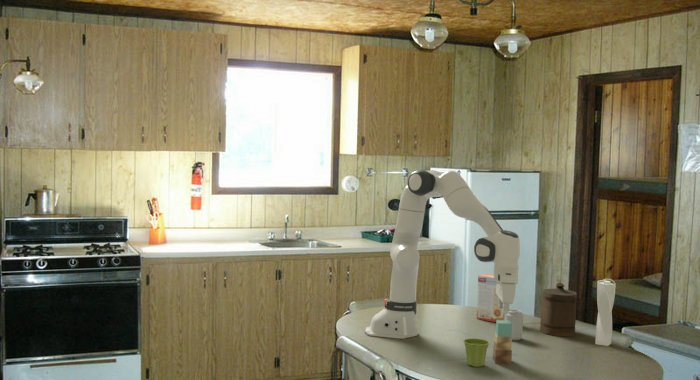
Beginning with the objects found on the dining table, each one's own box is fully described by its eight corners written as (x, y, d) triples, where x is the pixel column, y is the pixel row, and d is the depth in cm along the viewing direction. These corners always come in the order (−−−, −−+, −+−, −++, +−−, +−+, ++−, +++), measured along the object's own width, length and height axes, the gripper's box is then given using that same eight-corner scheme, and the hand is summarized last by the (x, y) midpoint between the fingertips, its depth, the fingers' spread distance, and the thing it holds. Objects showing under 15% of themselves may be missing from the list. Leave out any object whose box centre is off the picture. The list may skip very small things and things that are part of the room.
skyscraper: (610, 347, 301) (613, 279, 299) (591, 344, 305) (595, 277, 303) (614, 343, 308) (618, 277, 306) (596, 340, 312) (600, 275, 310)
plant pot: (459, 360, 274) (460, 337, 274) (484, 361, 275) (485, 338, 275) (465, 368, 265) (467, 344, 264) (491, 368, 266) (492, 345, 265)
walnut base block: (495, 363, 273) (495, 350, 272) (492, 358, 279) (493, 345, 278) (511, 364, 272) (511, 350, 272) (508, 359, 278) (509, 346, 278)
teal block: (497, 336, 273) (498, 323, 272) (495, 333, 278) (496, 320, 277) (511, 337, 272) (511, 323, 272) (508, 333, 277) (509, 320, 277)
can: (522, 341, 306) (523, 313, 305) (503, 340, 307) (505, 311, 306) (521, 337, 313) (523, 309, 312) (503, 335, 314) (505, 308, 314)
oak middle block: (496, 349, 273) (496, 336, 272) (494, 346, 278) (494, 333, 278) (511, 350, 272) (511, 337, 272) (508, 346, 278) (509, 333, 278)
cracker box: (509, 322, 340) (511, 277, 339) (502, 324, 335) (504, 279, 334) (482, 317, 349) (484, 273, 348) (475, 318, 344) (477, 274, 343)
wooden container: (580, 332, 324) (583, 283, 323) (565, 338, 313) (568, 287, 312) (549, 326, 334) (552, 278, 333) (533, 331, 323) (536, 282, 322)
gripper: (493, 269, 284) (490, 304, 285) (501, 278, 264) (498, 316, 264) (509, 270, 284) (507, 306, 284) (518, 279, 263) (515, 317, 264)
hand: (503, 311), depth 274 cm, fingers open, 8 cm apart
